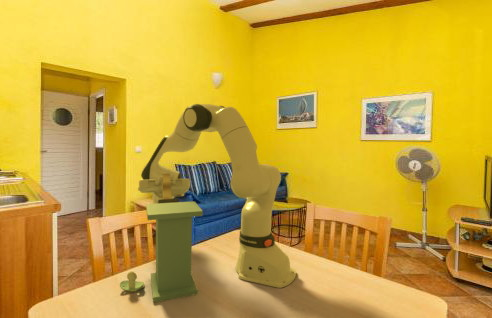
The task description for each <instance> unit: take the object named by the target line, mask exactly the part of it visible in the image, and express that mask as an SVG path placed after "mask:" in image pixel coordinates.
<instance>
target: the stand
mask: <svg viewBox="0 0 492 318" xmlns="http://www.w3.org/2000/svg"><path fill="white" fill-rule="evenodd" d="M145 207H146V209H145V210H146V216H147V217H146V218H147V219H146V220H147V221H155V272H151V273H150V282H151V283H150V284H151V293H152V303H158V302H164V301H169V300H174V299H179V298H180V299H181V298H184V297H186V298H187V297H190V296H195V295H198V287H197V285H196V283H195V280H194V277H193V275H192V253H193V252H192V249H193V248H192V245H193V243H192V241H193V235H192V232H193V218H194V217H203V215H204V214H203V213H204V211H203V209H202V208H201V207H200V206H199V205H198V204H197V202H196V201H194V200H193V201H178V202H175V203H158V204H154V203H147V204H146V205H145Z"/></svg>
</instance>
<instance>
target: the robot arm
mask: <svg viewBox="0 0 492 318" xmlns="http://www.w3.org/2000/svg"><path fill="white" fill-rule="evenodd" d="M202 132H204V133H205V132H208V133H214V132H218V134H219V136H220V139H221V141H222V143H223V146H224V147H225V150H226V152H227V154H228V157H229V160H230V164H231V170H232V176H231V178H230V188H231V191H232V193H233V194H234V195H235V196H236V197H239V198H241V199H246V201H245V204H244V205H243V207H242V209H241V213H240V214H241V217H240V231H239V238H238V239H239V240H238V241H239V252H238V256H237V257H238V258H237V261H236V263H235V264H236V265H235V268H234V269H235V271H236V272H237V274H238V279H240V280H242V281H248V282H252V283H256V284H261V285H265V286H269V287H274V288H277V289H280V288H281V289H282V288H284V287H287V286H288V285H290V284H291V283H292V282H294V280H295V279H296V278H297V270H296V269H295V268H293V267H291V263H290V257H289V256H288V255H287V254H286V252H284V251H283V250H282V248H280V247H279V245H277V244H276V243H275V242H276V240H277V239H278V238H277V237H278V235H275V236H274V235H273V233H272V230H271V229H272V216H273V215H272V213H273V208H274V205H275V204H274V202H275V199H276V195H277V190H278V188H279V185H280V183H281V180H282V174H281V172H280V170H279V169H278V167H276V166H274V165H271V164H268V163H262V164H260V162H259V158H258V155H257V149H258V144H257V143H256V140H255V138H254V136H253V134H252V131H251V130H250V128H249V126H248V125H247V123H246V121H245V119H244V118H243V116H242V115H241V113H240V112H239V111H238V110H237V109H236V108H235V107H233V106H224V105H217V104H210V103H201V104H200V103H194V104H191V105H187V106H186V108H185V109H184V111H183V112H182V114H181V115H180V117H179V119H178V120H177V122H176V125H175V127H174V130H173V132H172V133H170V134H169V135H165V136H163V138H162V139H161V141H160V142H159V144H157V147H156V148H155V151H154V152H153V153H152V155H151V156H150V158H149V160H148V162H147V163H146V164H145V165H144V166H143V168H142V170H141V175H140V176H141V179H140V180H139V181H138V188H137V191H139V192H140V193H142V194H151V201H152V204H158V200H162V199H163V191H162V182H163V177H162V174H170V181H171V195H172V199H176V198H179V197H184V196H185V194H186V193H187V192H188V191H189V189H190V188H191V182H190V181H191V180H190V178H186V177H185V178H183V177H182V175H181V172H180V171H177V170H175V169H174V168H173V169H172V168H170V167H167V166H164V165H161V164H160V163H159V162H160V161H161V159H162V157H163V156H164V154H165V153H171V152H172V153H173V152H175V153H186V152H189V151H191V150H193V149H194V148H195V146H196V145H197V143H198V141H199V140H200V137H201V134H202Z"/></svg>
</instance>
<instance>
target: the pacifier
mask: <svg viewBox="0 0 492 318" xmlns="http://www.w3.org/2000/svg"><path fill="white" fill-rule="evenodd" d="M126 278H127V280H123V281H120V283H119V288H120V289H121V290H123V291H127V292H129V293H130V292H131V293H132V292H133V293H134V292H137V291H139V290H141V289H143V288H145V286H146V283H145V281H136V280H137V278H138V276H137V274H136V273H135V272H134V271H129V272H128V273H127V274H126Z"/></svg>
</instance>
